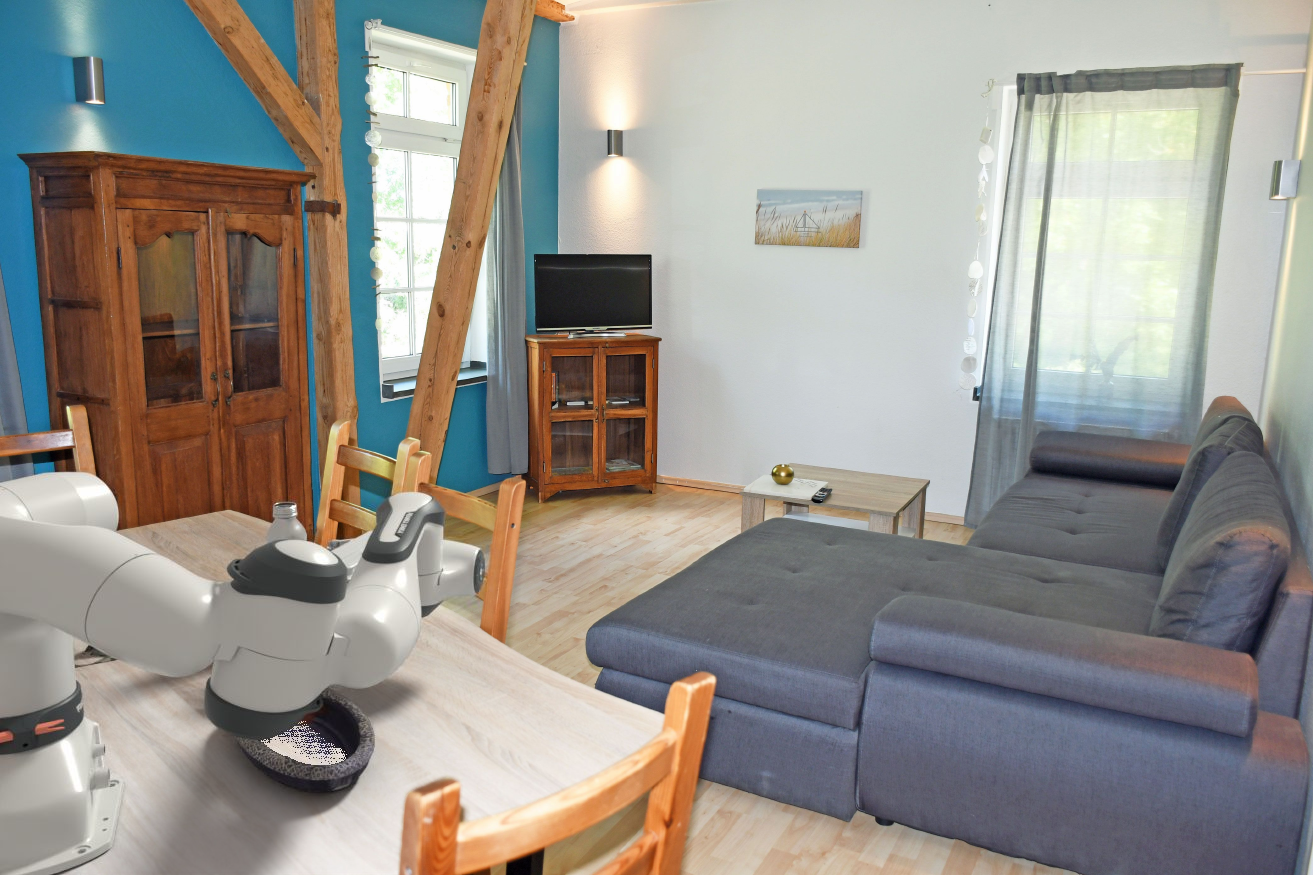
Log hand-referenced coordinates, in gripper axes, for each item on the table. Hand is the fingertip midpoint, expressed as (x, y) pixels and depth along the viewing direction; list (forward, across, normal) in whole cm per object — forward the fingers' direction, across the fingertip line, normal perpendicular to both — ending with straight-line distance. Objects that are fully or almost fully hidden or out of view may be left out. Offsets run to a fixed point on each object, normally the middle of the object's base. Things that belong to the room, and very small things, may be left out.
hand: (313, 553), depth 159 cm
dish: (-17, -30, -16) cm, 38 cm away
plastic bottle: (+4, 0, -12) cm, 13 cm away
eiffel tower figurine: (+30, -12, -16) cm, 36 cm away
